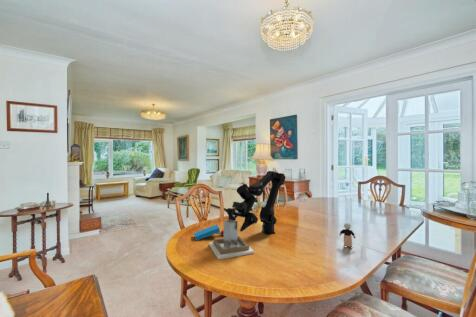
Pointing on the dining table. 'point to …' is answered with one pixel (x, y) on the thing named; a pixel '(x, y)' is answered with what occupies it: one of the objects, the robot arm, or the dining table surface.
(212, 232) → the lever
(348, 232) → the grandmother figurine
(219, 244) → the stand
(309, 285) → the dining table surface
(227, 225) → the brushed metal pillar
